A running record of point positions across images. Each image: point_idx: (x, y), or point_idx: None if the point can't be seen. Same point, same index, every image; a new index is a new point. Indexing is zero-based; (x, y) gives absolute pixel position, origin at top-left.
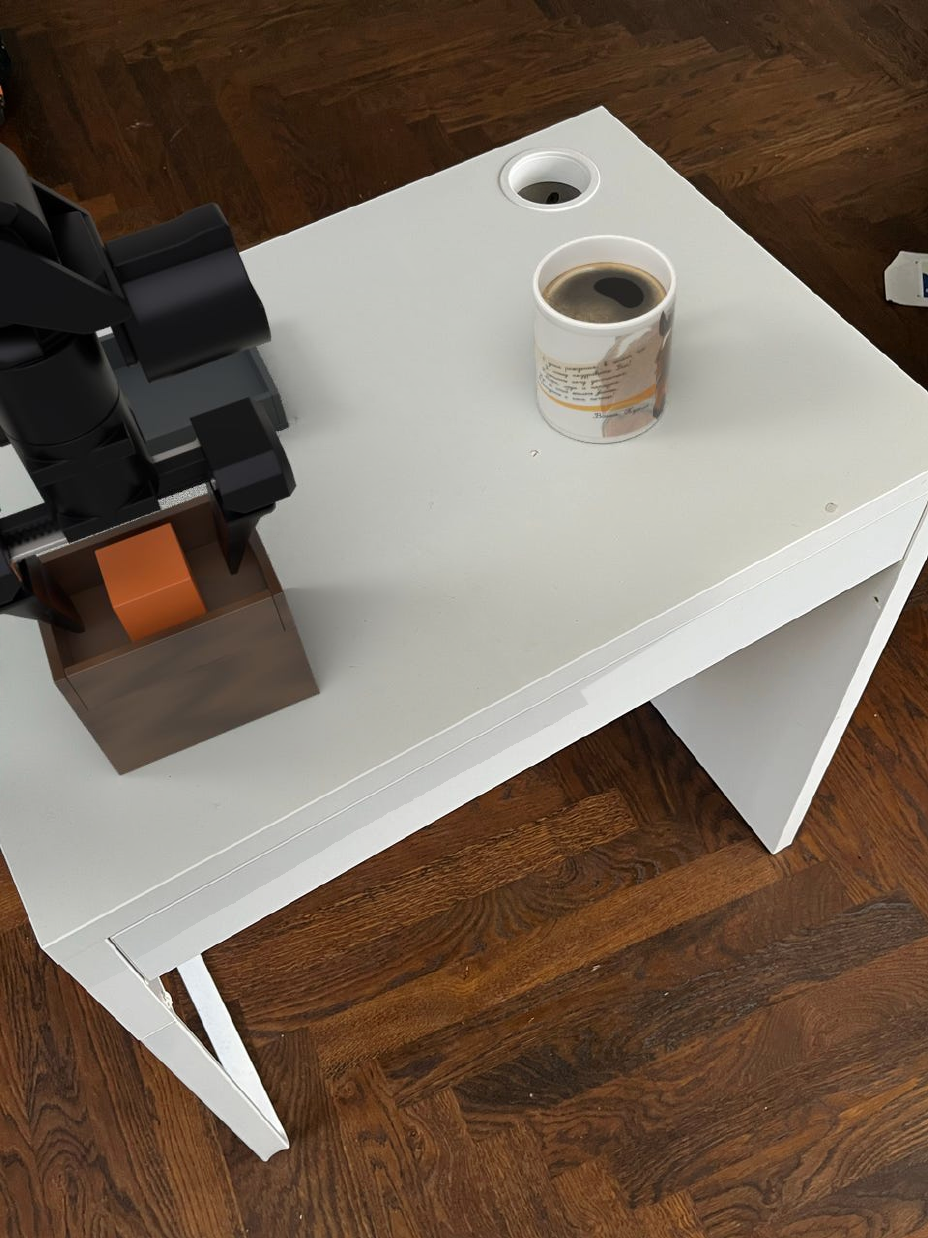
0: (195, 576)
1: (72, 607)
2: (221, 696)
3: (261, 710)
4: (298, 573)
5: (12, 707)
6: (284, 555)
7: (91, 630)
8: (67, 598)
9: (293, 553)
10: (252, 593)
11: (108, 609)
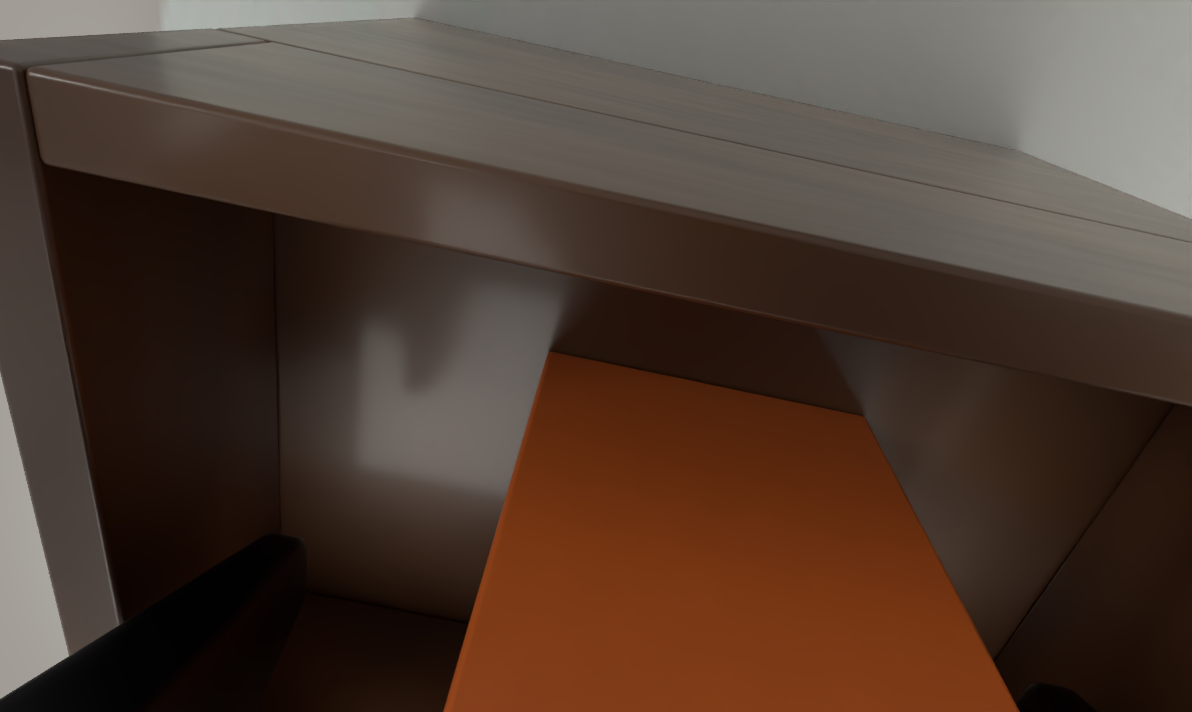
0: (876, 401)
1: (225, 693)
2: None
3: None
4: (1120, 143)
5: (168, 23)
6: (1156, 40)
7: (378, 361)
8: (192, 701)
9: (1182, 53)
10: (977, 588)
11: (478, 313)
